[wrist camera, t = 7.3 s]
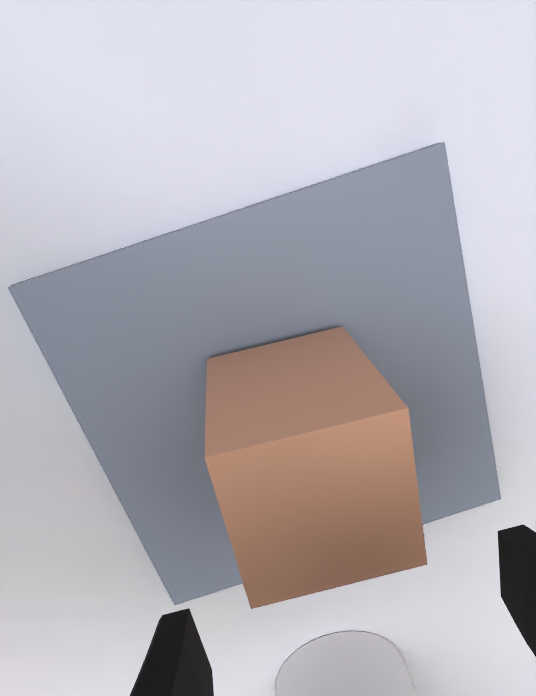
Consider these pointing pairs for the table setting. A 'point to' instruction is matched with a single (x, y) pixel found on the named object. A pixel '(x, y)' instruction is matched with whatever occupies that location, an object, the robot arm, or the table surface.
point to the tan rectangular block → (311, 466)
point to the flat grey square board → (265, 328)
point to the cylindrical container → (346, 668)
